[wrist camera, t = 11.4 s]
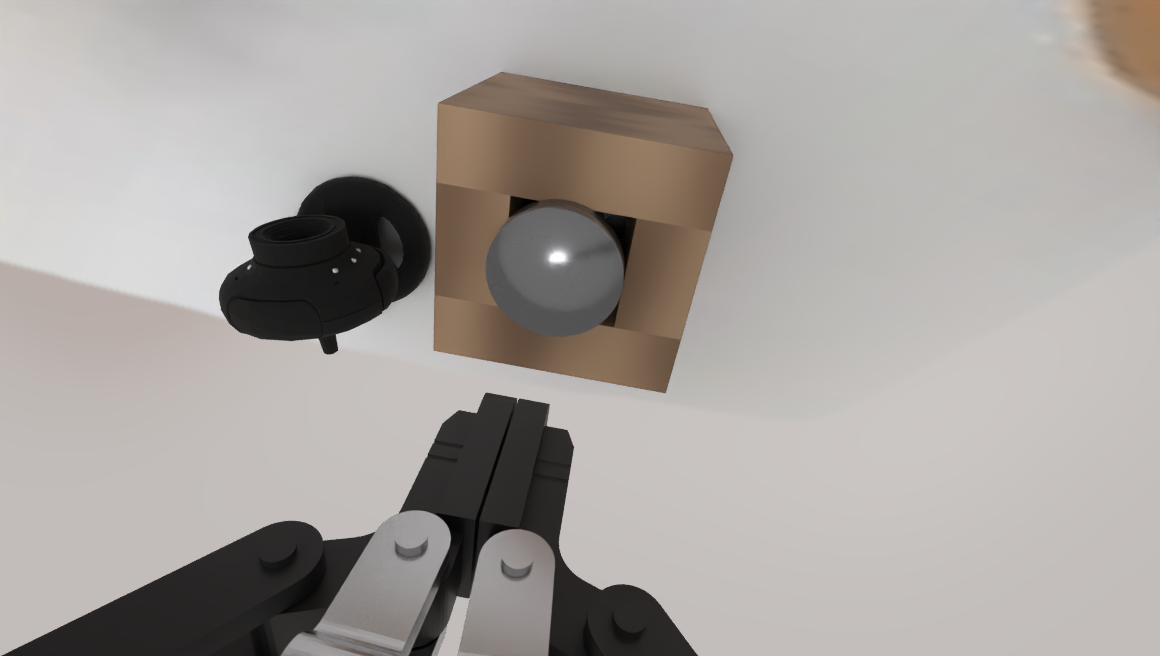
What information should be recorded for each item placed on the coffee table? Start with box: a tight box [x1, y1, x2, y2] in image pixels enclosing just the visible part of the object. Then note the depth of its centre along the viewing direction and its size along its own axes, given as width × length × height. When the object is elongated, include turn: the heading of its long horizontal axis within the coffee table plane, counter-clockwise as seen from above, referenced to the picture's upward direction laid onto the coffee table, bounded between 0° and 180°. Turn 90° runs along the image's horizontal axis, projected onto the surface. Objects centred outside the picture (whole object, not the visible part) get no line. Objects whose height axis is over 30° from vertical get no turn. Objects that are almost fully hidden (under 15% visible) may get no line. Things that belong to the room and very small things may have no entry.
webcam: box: [219, 177, 430, 354], centre depth 28 cm, size 8×8×10 cm
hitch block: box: [434, 72, 733, 393], centre depth 25 cm, size 10×10×10 cm
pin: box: [486, 199, 624, 337], centre depth 25 cm, size 5×5×10 cm
